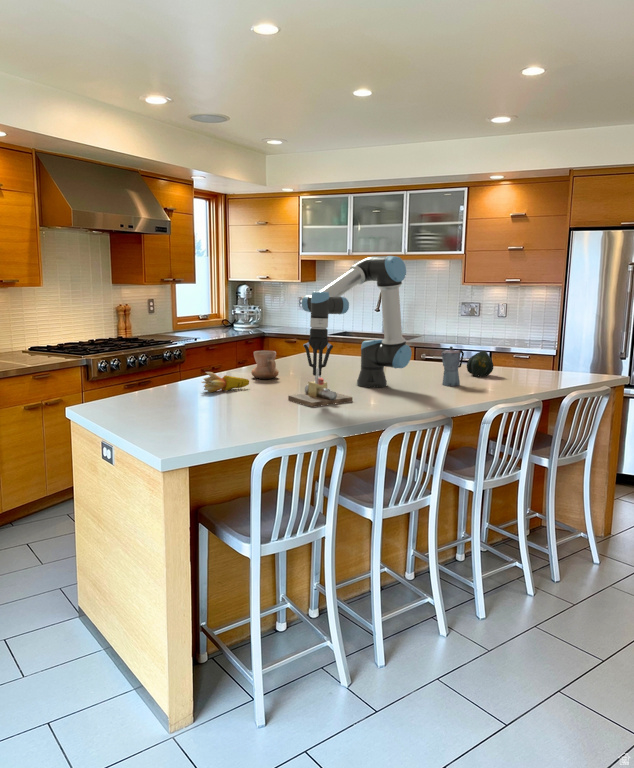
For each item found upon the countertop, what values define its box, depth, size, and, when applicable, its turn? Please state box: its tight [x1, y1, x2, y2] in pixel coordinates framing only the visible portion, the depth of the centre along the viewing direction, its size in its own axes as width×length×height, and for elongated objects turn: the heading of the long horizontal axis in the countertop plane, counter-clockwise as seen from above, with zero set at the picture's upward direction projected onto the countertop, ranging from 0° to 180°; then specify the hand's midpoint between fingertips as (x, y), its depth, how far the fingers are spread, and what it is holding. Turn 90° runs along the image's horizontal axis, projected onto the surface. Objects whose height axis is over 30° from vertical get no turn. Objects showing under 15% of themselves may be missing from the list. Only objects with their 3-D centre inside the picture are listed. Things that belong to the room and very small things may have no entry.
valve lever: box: [318, 375, 325, 385], centre depth 269 cm, size 12×3×2 cm, turn 7°
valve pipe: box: [304, 380, 337, 400], centre depth 273 cm, size 6×19×7 cm, turn 36°
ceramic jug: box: [251, 350, 279, 380], centre depth 330 cm, size 18×14×14 cm
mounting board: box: [287, 392, 353, 408], centre depth 274 cm, size 22×18×2 cm
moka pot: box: [441, 346, 465, 387], centre depth 318 cm, size 10×15×20 cm, turn 127°
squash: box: [466, 350, 494, 377], centre depth 350 cm, size 14×15×15 cm
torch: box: [200, 371, 250, 393], centre depth 295 cm, size 8×8×25 cm
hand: (316, 383), depth 266 cm, fingers closed
